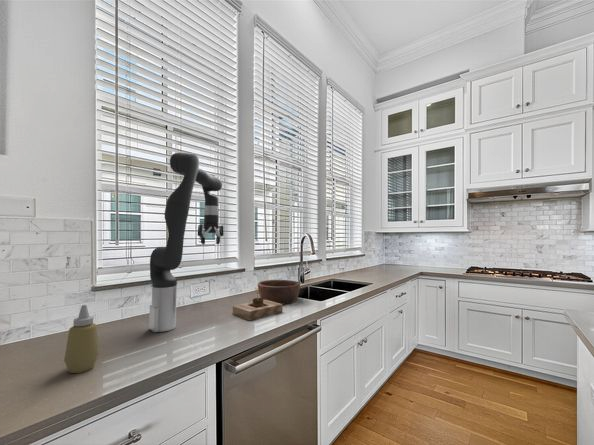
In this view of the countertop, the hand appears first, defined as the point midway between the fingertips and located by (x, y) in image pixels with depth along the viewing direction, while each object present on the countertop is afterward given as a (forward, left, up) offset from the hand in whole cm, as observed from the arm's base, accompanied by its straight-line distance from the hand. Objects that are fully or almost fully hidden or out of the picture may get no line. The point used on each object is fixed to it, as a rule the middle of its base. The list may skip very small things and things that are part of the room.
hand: (210, 244), depth 157 cm
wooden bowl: (+36, -16, -34) cm, 52 cm away
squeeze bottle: (-62, -42, -33) cm, 82 cm away
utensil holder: (+10, -30, -33) cm, 46 cm away
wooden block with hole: (+10, -30, -33) cm, 46 cm away
